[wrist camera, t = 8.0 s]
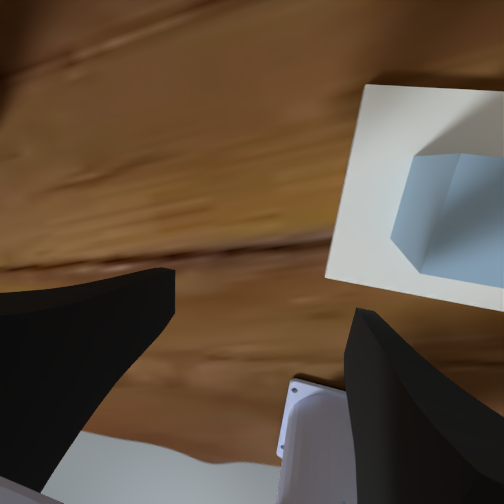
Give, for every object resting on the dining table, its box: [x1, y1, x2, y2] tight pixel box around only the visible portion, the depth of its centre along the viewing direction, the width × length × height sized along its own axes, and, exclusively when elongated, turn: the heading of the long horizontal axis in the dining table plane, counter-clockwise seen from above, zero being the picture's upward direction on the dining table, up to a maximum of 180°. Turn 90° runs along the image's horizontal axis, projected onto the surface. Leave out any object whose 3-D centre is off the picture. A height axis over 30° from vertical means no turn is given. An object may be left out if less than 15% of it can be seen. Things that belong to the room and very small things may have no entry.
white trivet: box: [325, 84, 504, 312], centre depth 17 cm, size 12×12×1 cm
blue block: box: [390, 153, 504, 289], centre depth 13 cm, size 5×5×6 cm
